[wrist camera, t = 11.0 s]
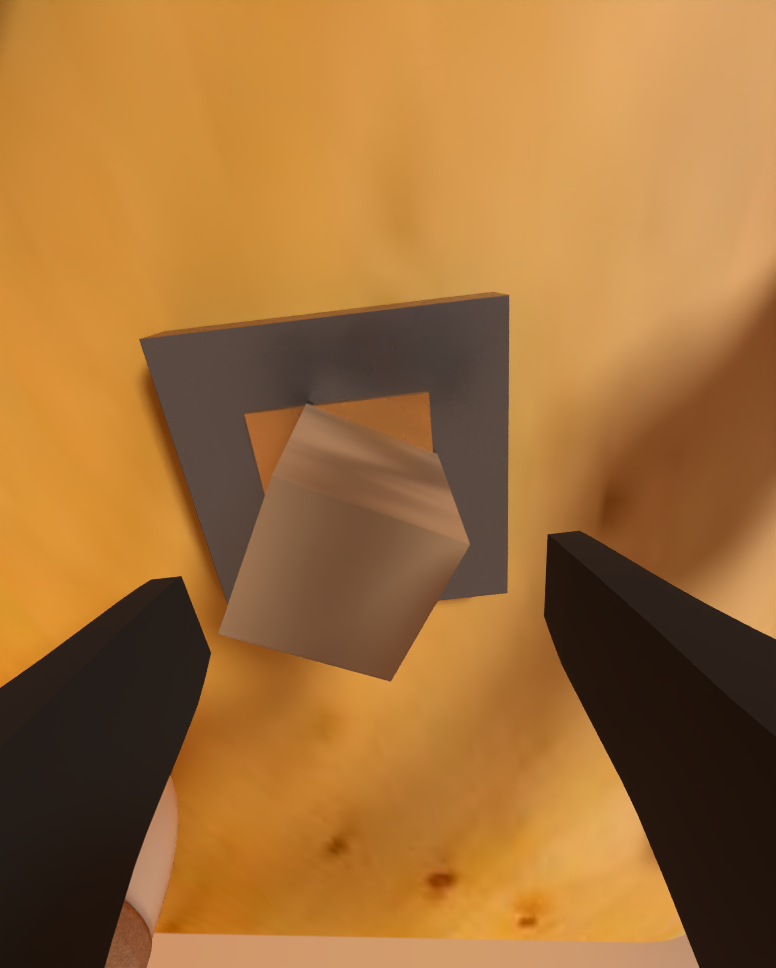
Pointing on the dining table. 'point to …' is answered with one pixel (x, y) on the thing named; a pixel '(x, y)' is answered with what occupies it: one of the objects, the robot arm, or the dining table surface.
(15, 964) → the robot arm
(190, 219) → the dining table surface
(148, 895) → the lidded bowl
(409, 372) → the grey square picture frame
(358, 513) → the taupe wooden cube
